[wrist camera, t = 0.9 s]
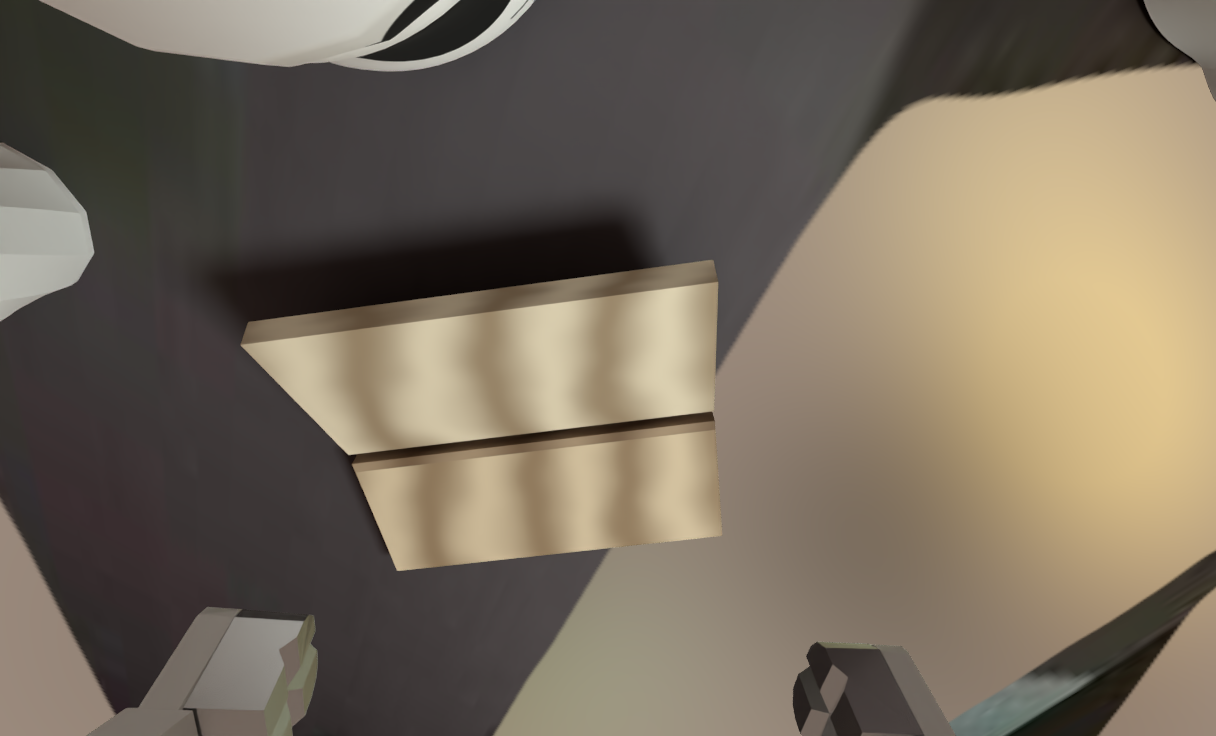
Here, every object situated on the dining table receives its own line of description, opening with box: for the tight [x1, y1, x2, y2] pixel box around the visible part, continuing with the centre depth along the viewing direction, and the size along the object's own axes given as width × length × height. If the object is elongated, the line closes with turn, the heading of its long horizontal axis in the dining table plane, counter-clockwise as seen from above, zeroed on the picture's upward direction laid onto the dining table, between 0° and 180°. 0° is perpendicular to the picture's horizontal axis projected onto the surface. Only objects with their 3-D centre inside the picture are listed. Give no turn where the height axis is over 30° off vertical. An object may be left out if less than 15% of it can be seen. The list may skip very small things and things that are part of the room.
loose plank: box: [241, 260, 718, 455], centre depth 36 cm, size 24×12×2 cm, turn 98°
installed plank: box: [352, 411, 722, 571], centre depth 44 cm, size 24×10×2 cm, turn 98°
